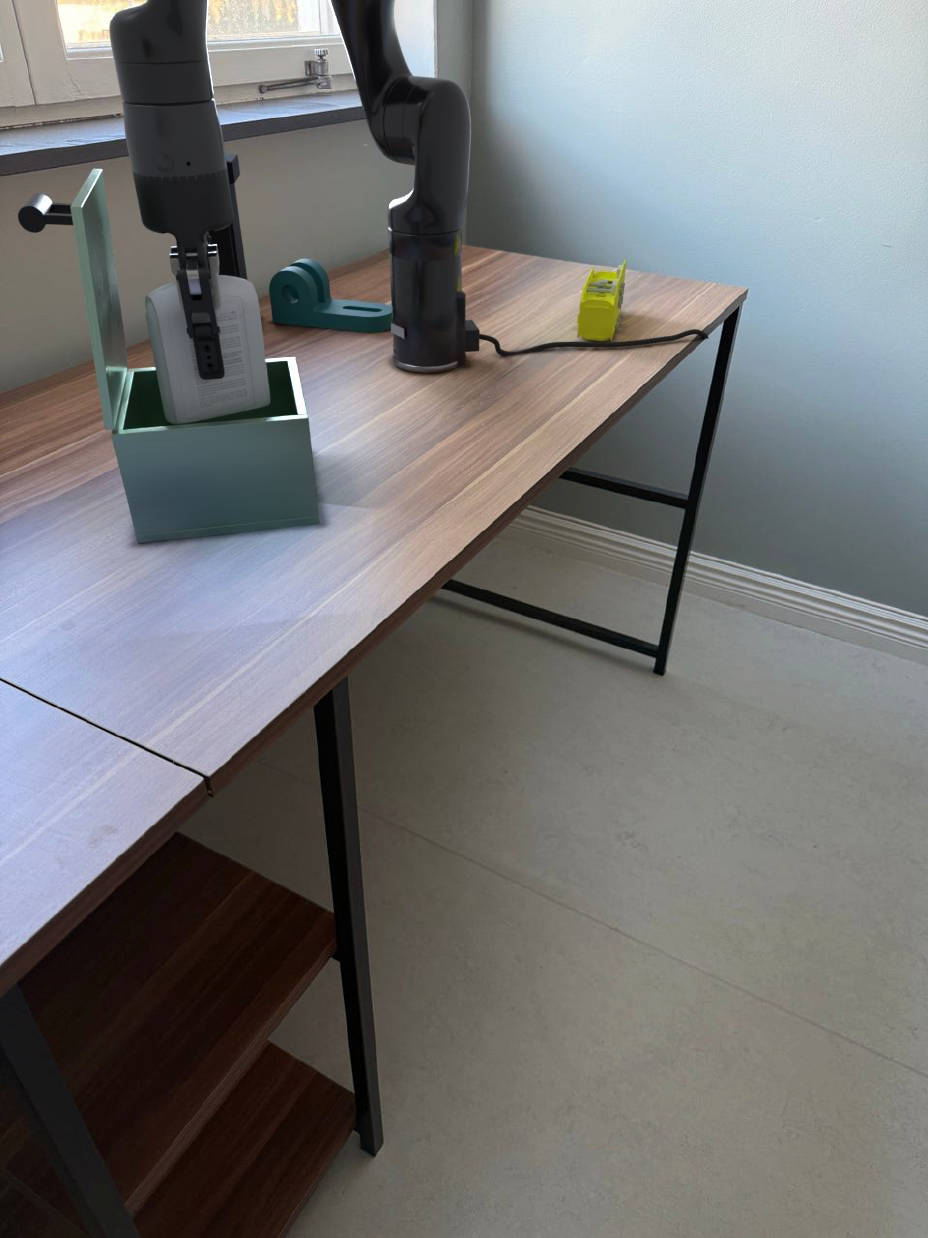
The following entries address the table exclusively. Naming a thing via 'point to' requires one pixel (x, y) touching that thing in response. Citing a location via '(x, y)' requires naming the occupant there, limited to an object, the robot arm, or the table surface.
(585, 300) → the yellow toy chassis
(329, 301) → the bracket
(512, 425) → the table surface
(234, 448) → the box
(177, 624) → the table surface
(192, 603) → the table surface
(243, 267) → the portable radio
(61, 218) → the lid
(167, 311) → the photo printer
